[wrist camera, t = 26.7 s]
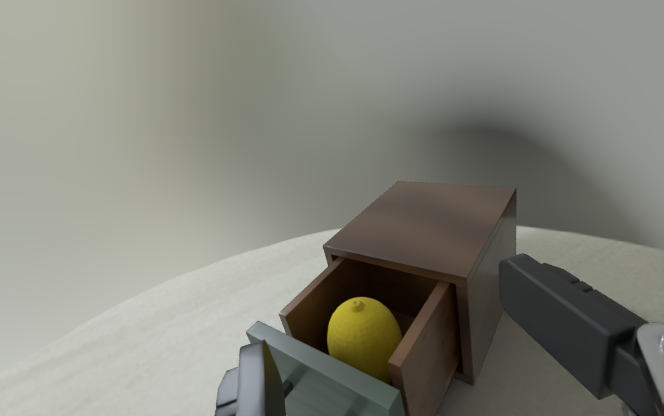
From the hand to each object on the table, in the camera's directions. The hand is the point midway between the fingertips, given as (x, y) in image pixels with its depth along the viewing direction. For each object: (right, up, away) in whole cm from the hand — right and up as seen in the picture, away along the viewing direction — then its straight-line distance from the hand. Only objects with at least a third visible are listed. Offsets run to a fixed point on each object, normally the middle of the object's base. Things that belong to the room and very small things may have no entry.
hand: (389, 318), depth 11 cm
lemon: (+2, -10, +15) cm, 18 cm away
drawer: (+1, -11, +15) cm, 19 cm away
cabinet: (+9, -6, +24) cm, 26 cm away
